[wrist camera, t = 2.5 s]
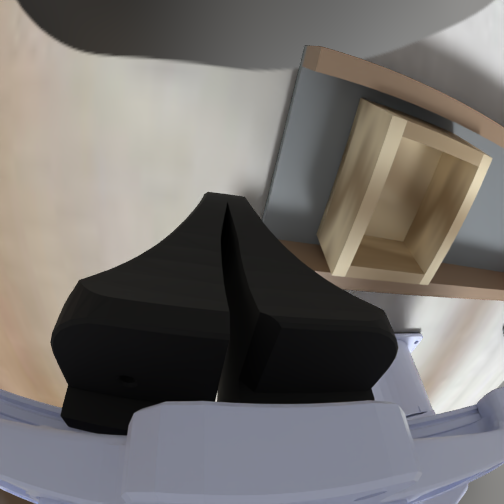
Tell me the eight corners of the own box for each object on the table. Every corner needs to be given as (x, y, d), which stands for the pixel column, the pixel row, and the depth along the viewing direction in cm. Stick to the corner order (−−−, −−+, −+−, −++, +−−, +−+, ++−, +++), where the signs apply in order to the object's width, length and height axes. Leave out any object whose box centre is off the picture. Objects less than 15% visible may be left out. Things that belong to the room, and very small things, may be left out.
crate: (404, 247, 22) (427, 285, 18) (316, 234, 21) (331, 275, 17) (454, 133, 16) (492, 158, 13) (360, 97, 15) (392, 115, 12)
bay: (517, 280, 26) (539, 311, 22) (255, 246, 22) (261, 299, 18) (571, 179, 19) (602, 205, 15) (305, 45, 14) (331, 47, 10)
